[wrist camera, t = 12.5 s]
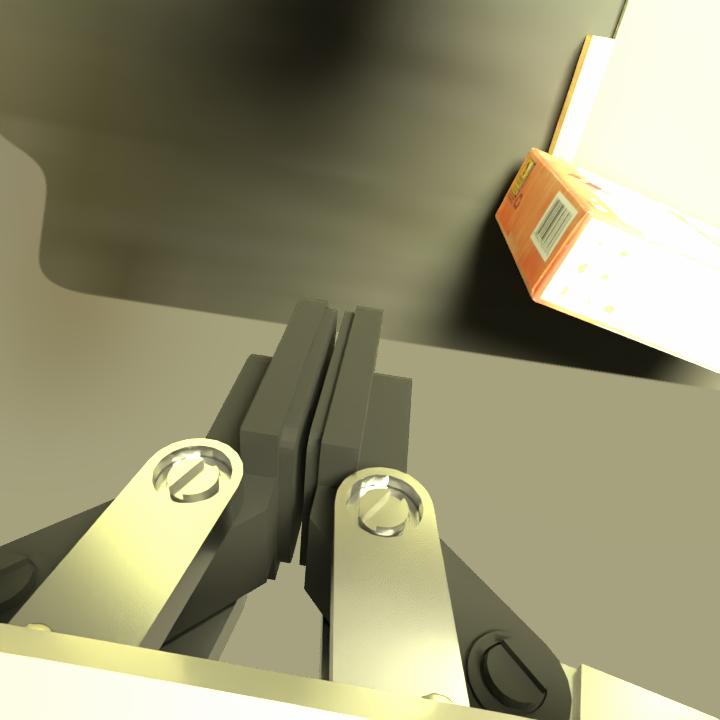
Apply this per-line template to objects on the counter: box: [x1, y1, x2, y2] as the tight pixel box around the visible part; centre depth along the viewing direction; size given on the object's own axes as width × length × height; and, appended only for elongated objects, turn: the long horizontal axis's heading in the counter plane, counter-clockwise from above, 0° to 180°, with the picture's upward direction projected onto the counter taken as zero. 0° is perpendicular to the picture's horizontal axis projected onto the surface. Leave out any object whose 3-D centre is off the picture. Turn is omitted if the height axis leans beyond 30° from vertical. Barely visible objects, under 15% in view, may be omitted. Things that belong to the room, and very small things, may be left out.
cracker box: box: [495, 148, 720, 374], centre depth 35 cm, size 14×6×21 cm
